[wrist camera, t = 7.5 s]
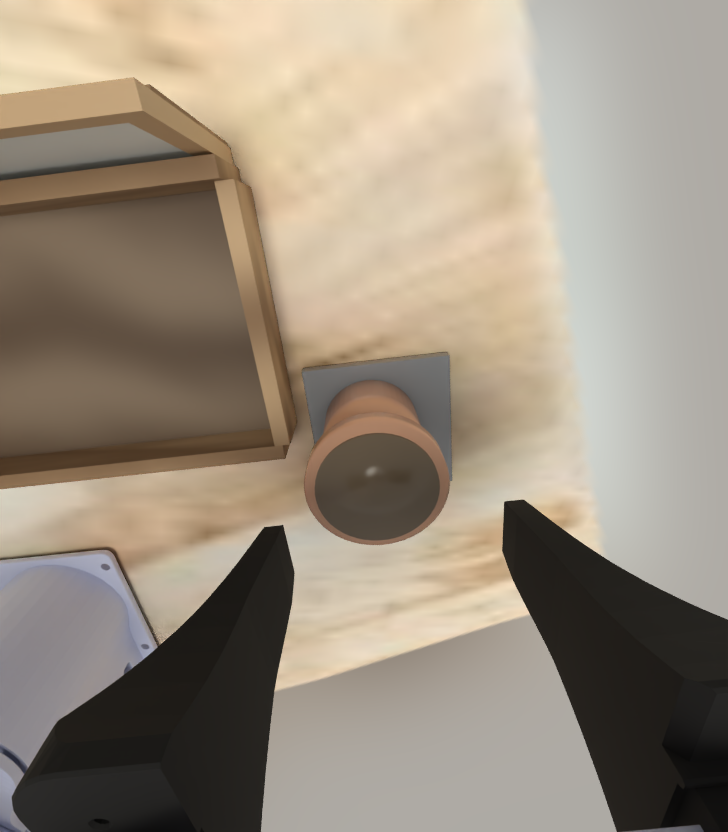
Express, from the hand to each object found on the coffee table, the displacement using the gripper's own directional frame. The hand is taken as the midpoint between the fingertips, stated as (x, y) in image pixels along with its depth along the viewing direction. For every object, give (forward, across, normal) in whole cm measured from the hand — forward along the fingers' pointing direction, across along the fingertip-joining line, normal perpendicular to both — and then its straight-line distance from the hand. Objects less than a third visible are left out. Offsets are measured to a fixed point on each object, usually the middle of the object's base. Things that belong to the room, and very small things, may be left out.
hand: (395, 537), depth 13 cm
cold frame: (+9, +12, -6) cm, 16 cm away
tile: (+8, 0, 0) cm, 9 cm away
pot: (+8, 0, 0) cm, 8 cm away
